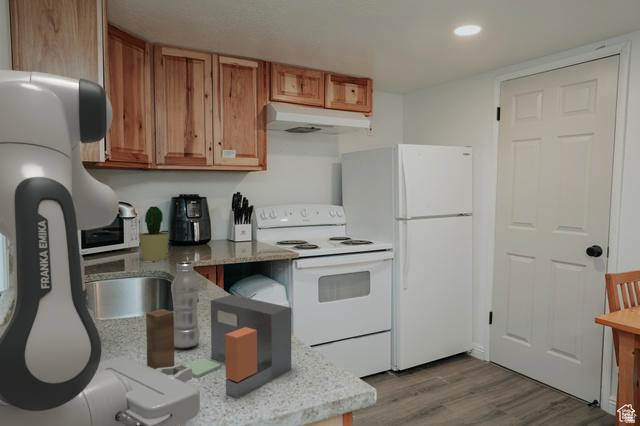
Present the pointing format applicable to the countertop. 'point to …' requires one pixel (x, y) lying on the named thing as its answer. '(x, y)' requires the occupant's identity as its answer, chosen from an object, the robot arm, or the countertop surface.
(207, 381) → the countertop surface
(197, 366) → the pad
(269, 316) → the box
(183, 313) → the plastic bottle
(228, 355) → the plunger
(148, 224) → the potted cactus
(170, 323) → the peg
